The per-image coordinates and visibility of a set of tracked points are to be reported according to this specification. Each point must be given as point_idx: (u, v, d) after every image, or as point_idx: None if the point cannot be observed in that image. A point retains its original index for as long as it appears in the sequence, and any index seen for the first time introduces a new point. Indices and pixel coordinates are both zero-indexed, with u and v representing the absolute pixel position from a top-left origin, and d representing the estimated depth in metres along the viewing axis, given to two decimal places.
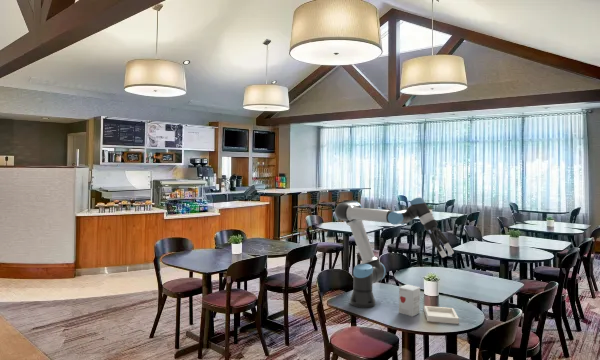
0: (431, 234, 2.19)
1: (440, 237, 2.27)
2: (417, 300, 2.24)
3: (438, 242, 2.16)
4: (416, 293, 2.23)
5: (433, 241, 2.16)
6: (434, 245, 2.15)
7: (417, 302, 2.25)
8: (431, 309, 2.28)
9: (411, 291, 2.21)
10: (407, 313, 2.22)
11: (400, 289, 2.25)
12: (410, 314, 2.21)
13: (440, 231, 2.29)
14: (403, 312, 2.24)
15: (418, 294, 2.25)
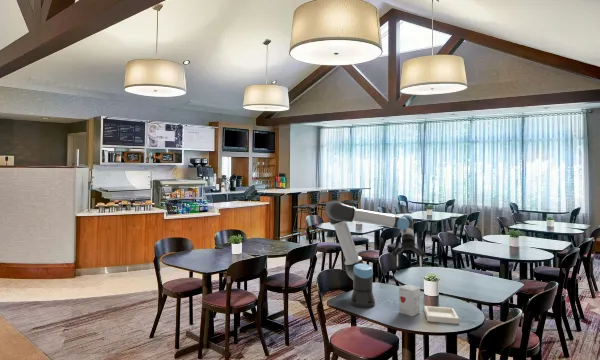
0: None
1: (402, 250, 2.44)
2: (417, 300, 2.24)
3: None
4: (416, 293, 2.23)
5: None
6: (425, 255, 2.39)
7: (417, 302, 2.25)
8: (431, 309, 2.28)
9: (411, 291, 2.21)
10: (407, 313, 2.22)
11: (400, 289, 2.25)
12: (410, 314, 2.21)
13: None
14: (403, 312, 2.24)
15: (418, 294, 2.25)
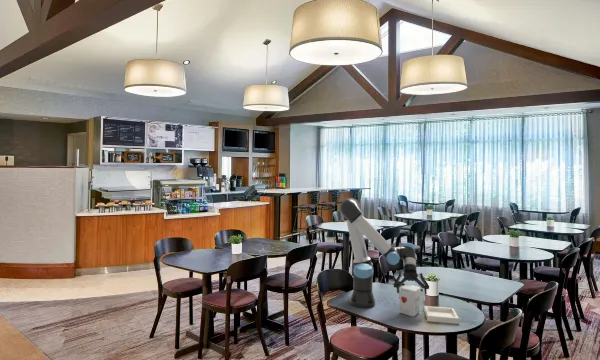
0: None
1: (404, 281, 2.34)
2: (418, 300, 2.24)
3: None
4: (418, 293, 2.22)
5: None
6: None
7: (418, 302, 2.24)
8: (431, 309, 2.28)
9: (413, 292, 2.19)
10: (408, 313, 2.22)
11: (401, 289, 2.23)
12: (411, 314, 2.21)
13: None
14: (404, 312, 2.23)
15: (419, 294, 2.24)
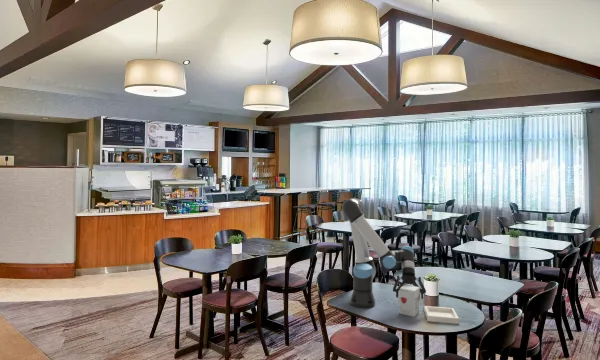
0: None
1: (403, 285, 2.32)
2: (417, 300, 2.24)
3: None
4: (417, 293, 2.23)
5: None
6: (425, 292, 2.26)
7: (418, 302, 2.24)
8: (431, 309, 2.28)
9: (413, 291, 2.20)
10: (408, 314, 2.21)
11: (401, 290, 2.24)
12: (411, 314, 2.20)
13: (398, 281, 2.35)
14: (404, 313, 2.23)
15: (418, 294, 2.25)
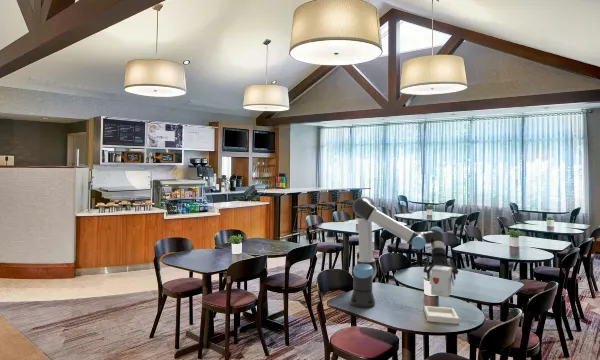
0: None
1: (433, 265, 2.25)
2: (450, 281, 2.17)
3: None
4: (449, 273, 2.16)
5: None
6: (457, 272, 2.20)
7: (450, 283, 2.18)
8: (431, 309, 2.28)
9: (445, 271, 2.13)
10: (441, 294, 2.15)
11: (433, 270, 2.17)
12: (444, 295, 2.14)
13: None
14: (436, 293, 2.16)
15: (450, 274, 2.18)
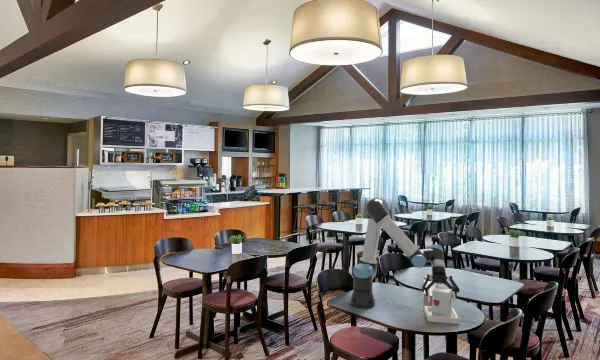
0: None
1: (432, 284, 2.26)
2: (450, 302, 2.18)
3: None
4: (450, 295, 2.16)
5: None
6: (459, 290, 2.20)
7: (450, 305, 2.18)
8: (431, 309, 2.28)
9: (446, 293, 2.14)
10: None
11: (433, 292, 2.17)
12: None
13: (428, 280, 2.29)
14: None
15: (451, 296, 2.18)
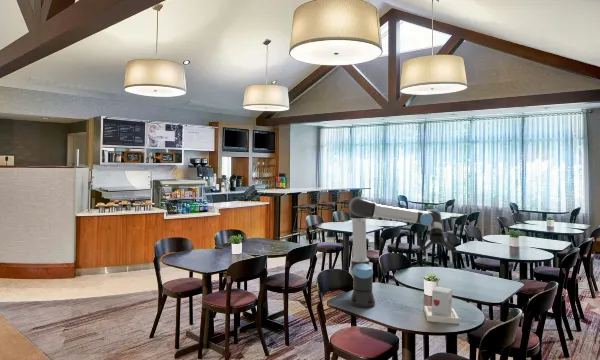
0: None
1: (430, 244, 2.38)
2: (450, 302, 2.18)
3: (450, 250, 2.35)
4: (450, 295, 2.16)
5: None
6: (455, 249, 2.32)
7: (450, 305, 2.18)
8: (431, 309, 2.28)
9: (446, 294, 2.14)
10: None
11: (433, 292, 2.17)
12: None
13: (426, 241, 2.41)
14: None
15: (451, 296, 2.18)
